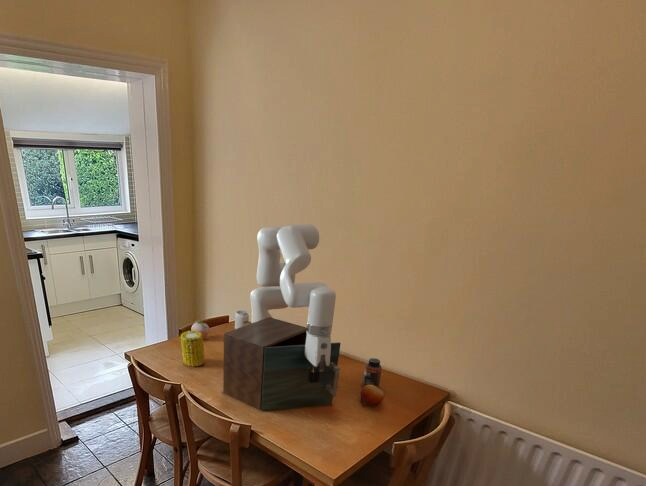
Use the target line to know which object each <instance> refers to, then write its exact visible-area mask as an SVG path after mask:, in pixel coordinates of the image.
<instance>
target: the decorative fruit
mask: <svg viewBox="0 0 646 486" xmlns="http://www.w3.org/2000/svg"><path fill="white" fill-rule="evenodd" d="M191 330H193V331H197V332H199V333H201V334H202V337H203V339H205V338H207V336H208V335H209V334H210V330H211V329H210V326H209V325H208V324H207V323H205V322H202V321H201V319H200V320H195V321H194V323H193V324H192V326H191V329H190V331H191Z"/></svg>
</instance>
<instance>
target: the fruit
mask: <svg viewBox="0 0 646 486" xmlns="http://www.w3.org/2000/svg"><path fill="white" fill-rule="evenodd" d="M359 396H360V398H359V399H360V401H362V403H363V407H365V405H367V406H371V407H373V406H375V407H376V406H379V405H380V404H381V403H382V402H383V401H384V398H385V393H384V391H383V390H382V389H381V388H379V387H377V386H374V385H365V386H364V387H363V386H362V388H361V390H360V393H359Z"/></svg>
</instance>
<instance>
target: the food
mask: <svg viewBox="0 0 646 486" xmlns="http://www.w3.org/2000/svg"><path fill="white" fill-rule="evenodd" d="M203 339H204V338H203V337H202V334H201V333H199V332H197V331H193V330H191V329H190V330H187V331H184V332H182V333H181V334H180V346H181V352H182V359H183V360H182V361H183V364H185V365H186V366H189V367H199V366H202V365H203V364H204V363H205V359H206V358H205V348H204V347H205V346H204V341H203Z"/></svg>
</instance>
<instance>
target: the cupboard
mask: <svg viewBox="0 0 646 486" xmlns="http://www.w3.org/2000/svg"><path fill="white" fill-rule="evenodd" d="M306 331H307V326H302V325H299V324H295V323H292V322H288V321H286V320H282V319H278V318H275V317H273V318H271V317H269V318H266V319H263V320H260V321H257V322H254V323H252V324H251V323H248V325H246V326H243V327H240V328H238V329H235V328H234V329H232V330H230V331H226V332H224V333H223V376H222V377H223V378H222V381H223V383H222V384H223V385H222V386H223V387H222V388H223V389H222V393H223V394H225V395H227V396H229V397H231V398H233V399H236V400H238V401H239V402H241V403H244V404H246V405H249V406H250V407H253V408H255V409H257V410H259V411H262V410H261V406H262V389H263V371H264V354H265V347H279V346H293V345H305V343H306V337H307V333H306Z"/></svg>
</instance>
